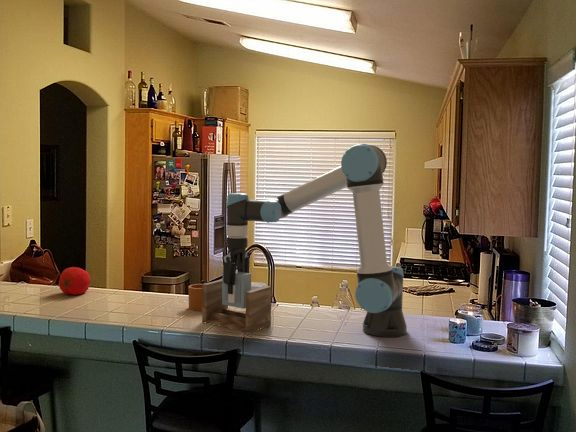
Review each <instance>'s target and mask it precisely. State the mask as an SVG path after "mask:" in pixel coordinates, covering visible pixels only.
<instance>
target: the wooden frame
mask: <svg viewBox="0 0 576 432" xmlns="http://www.w3.org/2000/svg"><path fill="white" fill-rule="evenodd" d="M201 284H202V311H201V322H202V323H204V322H206V323H205V324H208V323H211V324H210V325H213V324H215V325H214V326H217V325H220V326H219V327H222V326H223V327H222V328H226V327H228V328H227V329H231V328H232V330H235V331H241V332H245V333H249V332H250V333H254V332H256V331H259V330H261V329H260V328H262V329H264V328H267V327H269V325H270V326H271V324H272V286H269V285H266V286H265V287H261V288H258V289H254V290H250V291H247V292H246V308H245V312H244V311H241V310H235V309H231V308H229V306H227V305H222V279H217V280H215V281H210V282H205V283H201ZM266 326H267V327H266ZM263 327H264V328H263ZM258 329H259V330H258ZM253 331H254V332H253Z"/></svg>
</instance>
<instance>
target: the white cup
mask: <svg viewBox="0 0 576 432" xmlns="http://www.w3.org/2000/svg"><path fill="white" fill-rule="evenodd" d="M265 286H267V284H266V283H265V282H259V281H258V282H255V281H254V282H252V281H251V290H254V289H258V288H261V287H265Z"/></svg>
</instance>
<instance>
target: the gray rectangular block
mask: <svg viewBox="0 0 576 432" xmlns="http://www.w3.org/2000/svg"><path fill="white" fill-rule="evenodd" d="M221 273H222V274H221V277H222V278H221V280H222V305H227V306H228V307H233V308H238V309H242V310H244V309H245V310H246V292H247V291H250V290H251V283H252V273H251V272H249V273H244V272H238V270H236V274H235V281H234V285H236V296H235V303H230V302H228V285H227V284H225V283H223V271H222V272H221Z"/></svg>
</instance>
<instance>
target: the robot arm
mask: <svg viewBox="0 0 576 432" xmlns="http://www.w3.org/2000/svg"><path fill="white" fill-rule="evenodd" d="M340 160H341V161H340V162H341V163H340V166H338V167H336V168H334V169H331V170H330V171H328V172H326V173H324V174H322V175H319V176H318V177H316V178H313V179H312V180H310V181H307V182H305V183H303V184H302V185H301V184H300V185H299V186H297V187H295V188H293V189H291V190H289V191H287V192H285V193H283V194H281V195H279V196H277V197H274V198H271V199H270V198H269V199H249V194H247V193H241V192H239V193H237V192H235V193H234V192H232V193H228V195H227V198H226V206H225V207H226V236H227V237H226V238H225V239H226V242H225V243H226V245H225V246H226V248H227V250H228V251H227V255H223V256H222V258H221V259H222V265H223V266H222V267H223V271H222V272H223V283H225V284H227V285H228V302H230V303H235V296H236V285H234V281H235V274H236V271H238V272H244V273H250V262H251V261H250V260H251V256H252V255H251V252H247V251H246V249H247V248H248V240H249V239H248V235H249V232H248V231H249V227H248V226H249V221H250V222H260V223H261V222H262V223H267V224H269V223H278V222H279V221H280V219H284V218H286V217H288V216H289V215H290V214H292V213H294V212H296V211H299V210H301V209H303V208H305V207H307V206H309V205H311V204H314V203H315V202H318V201H320V200H322V199H324V198H326V197H328V196H330V195H333V194H334V193H337V192H339V191H341V190H343V189H345V188H347V190H349V191H350V192H351V193H352V198H353V207H354V215H355V218H354V219H355V228H356V236H357V245H358V246H357V247H358V253H359V263H360V267H358V269H357V270H356V280H357V285H356V288H355V290H354V291H355V292H354V297H355V300H356V302H357V304H358V306H359V307H360V308H361V309H362V310H363V311H365V312H366V314H365V317H364V320H363V322H362V331H363V332H364V333H365V334H367V335H372V336H375V337H381V338H394V337H395V338H396V337H402V336H405V335H406V334H407V332H408V331H407V329H408V327H407V322H406V319H405V315H404V312H403V297H404V296H403V293H404V291H403V290H404V277H405V275H404V269H403V268H402V267H401V266H400V267H399V266H393V265H390V264H389V263H388V260H387V249H386V241H385V232H384V231H385V230H384V222H383V214H382V203H381V193H380V190H381V188H382V187H383V186H384V176H383V174H384V173H385V171H386V169H387V165H388V162H387V156H386V153H385V152H384V151H383V149H381V148H380V147H378V146H376V145H371V144H367V143H359V144H355V145H352V146H350V147H348V148H347V149H346V151H345V152H344V153H343V155H342V157H341V159H340Z"/></svg>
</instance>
